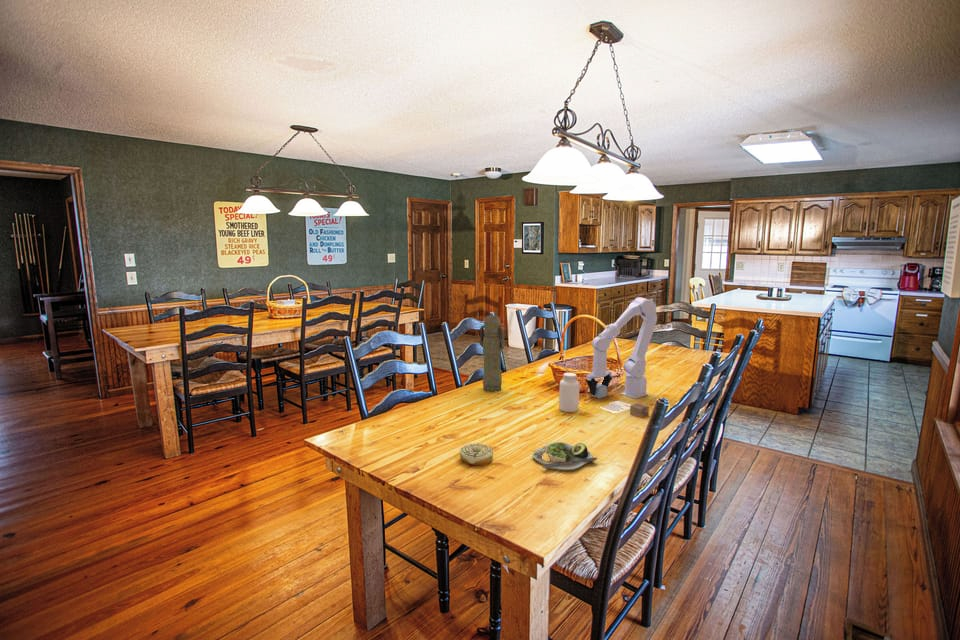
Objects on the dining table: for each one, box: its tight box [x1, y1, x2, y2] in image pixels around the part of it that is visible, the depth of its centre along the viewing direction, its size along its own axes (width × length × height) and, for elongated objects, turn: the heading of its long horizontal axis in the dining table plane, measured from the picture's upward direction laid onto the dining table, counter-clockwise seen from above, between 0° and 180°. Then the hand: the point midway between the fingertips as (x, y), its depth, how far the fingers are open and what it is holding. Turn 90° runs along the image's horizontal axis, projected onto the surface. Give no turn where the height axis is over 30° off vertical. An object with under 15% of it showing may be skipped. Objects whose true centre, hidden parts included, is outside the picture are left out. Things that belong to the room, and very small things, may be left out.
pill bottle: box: [558, 372, 580, 413], centre depth 193 cm, size 8×8×15 cm
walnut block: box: [629, 402, 650, 419], centre depth 187 cm, size 5×5×4 cm
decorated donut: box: [459, 443, 494, 466], centre depth 149 cm, size 10×11×4 cm
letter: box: [596, 400, 631, 415], centre depth 196 cm, size 14×10×1 cm
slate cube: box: [589, 383, 608, 399], centre depth 210 cm, size 5×5×5 cm
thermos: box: [479, 314, 505, 393], centre depth 219 cm, size 9×12×35 cm
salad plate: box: [532, 441, 598, 471], centre depth 148 cm, size 19×18×5 cm
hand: (598, 393), depth 210 cm, fingers open, 7 cm apart
